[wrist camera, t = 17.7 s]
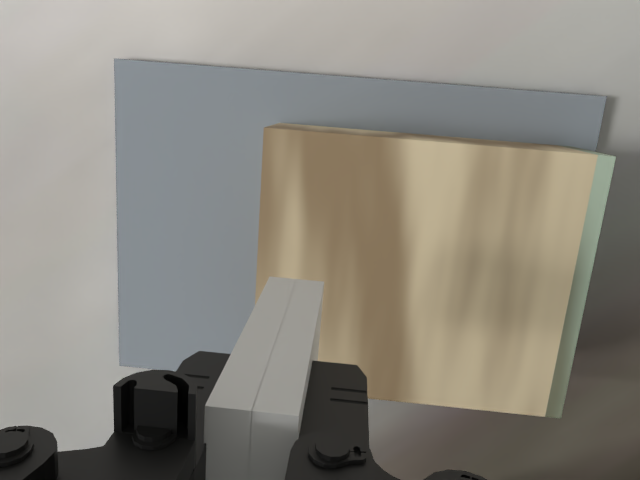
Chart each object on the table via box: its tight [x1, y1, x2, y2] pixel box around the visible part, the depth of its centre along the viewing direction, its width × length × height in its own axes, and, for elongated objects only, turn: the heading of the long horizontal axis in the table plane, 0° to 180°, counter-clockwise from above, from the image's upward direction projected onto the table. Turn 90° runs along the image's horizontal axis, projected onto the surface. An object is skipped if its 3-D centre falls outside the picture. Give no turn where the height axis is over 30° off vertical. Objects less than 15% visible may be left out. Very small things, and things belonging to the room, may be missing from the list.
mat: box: [114, 59, 607, 371], centre depth 24 cm, size 20×14×1 cm
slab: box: [255, 123, 616, 418], centre depth 22 cm, size 4×10×12 cm
